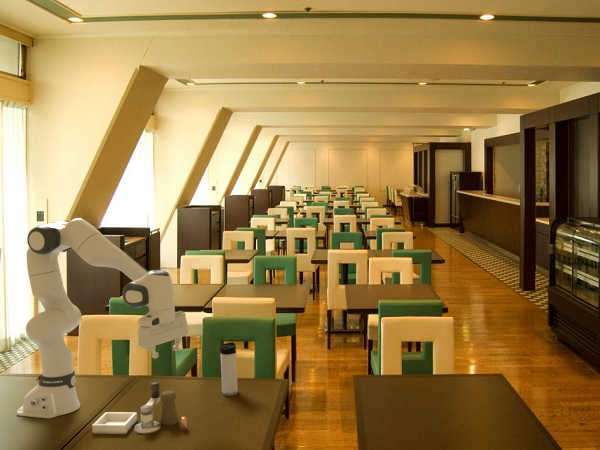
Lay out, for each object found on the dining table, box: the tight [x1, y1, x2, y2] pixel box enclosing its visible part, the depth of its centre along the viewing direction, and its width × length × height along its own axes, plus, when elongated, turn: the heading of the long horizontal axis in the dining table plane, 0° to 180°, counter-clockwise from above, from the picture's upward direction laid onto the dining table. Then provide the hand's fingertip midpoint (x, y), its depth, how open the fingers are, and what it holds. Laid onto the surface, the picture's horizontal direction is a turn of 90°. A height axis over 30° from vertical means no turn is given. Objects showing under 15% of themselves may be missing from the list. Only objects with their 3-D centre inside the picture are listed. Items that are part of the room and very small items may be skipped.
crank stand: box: [133, 411, 188, 435], centre depth 221 cm, size 18×9×5 cm, turn 84°
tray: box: [91, 411, 138, 435], centre depth 224 cm, size 12×12×3 cm
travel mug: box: [219, 341, 239, 397], centre depth 254 cm, size 6×7×20 cm
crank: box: [140, 381, 161, 415], centre depth 226 cm, size 14×4×7 cm, turn 174°
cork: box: [160, 390, 179, 426], centre depth 227 cm, size 6×6×11 cm
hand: (166, 354), depth 226 cm, fingers open, 8 cm apart
